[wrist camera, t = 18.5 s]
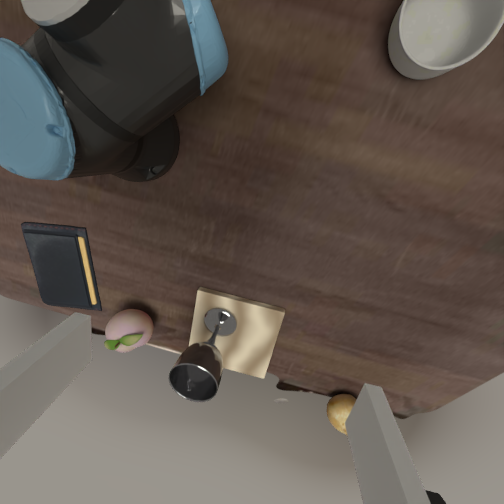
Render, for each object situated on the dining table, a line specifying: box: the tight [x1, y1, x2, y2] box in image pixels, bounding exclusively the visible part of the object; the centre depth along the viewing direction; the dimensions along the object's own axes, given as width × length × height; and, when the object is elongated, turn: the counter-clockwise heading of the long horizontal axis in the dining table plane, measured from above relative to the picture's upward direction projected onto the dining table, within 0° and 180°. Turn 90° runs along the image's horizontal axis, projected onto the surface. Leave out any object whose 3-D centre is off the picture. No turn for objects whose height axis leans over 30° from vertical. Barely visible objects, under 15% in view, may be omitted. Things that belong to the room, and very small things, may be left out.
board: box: [189, 287, 285, 379], centre depth 55 cm, size 18×18×2 cm
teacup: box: [388, 0, 504, 80], centre depth 31 cm, size 14×11×8 cm
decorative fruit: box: [104, 309, 153, 352], centre depth 53 cm, size 9×8×10 cm
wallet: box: [21, 222, 102, 311], centre depth 55 cm, size 20×2×15 cm
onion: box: [327, 394, 357, 436], centre depth 55 cm, size 8×8×7 cm
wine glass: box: [169, 308, 237, 402], centre depth 46 cm, size 8×8×15 cm
